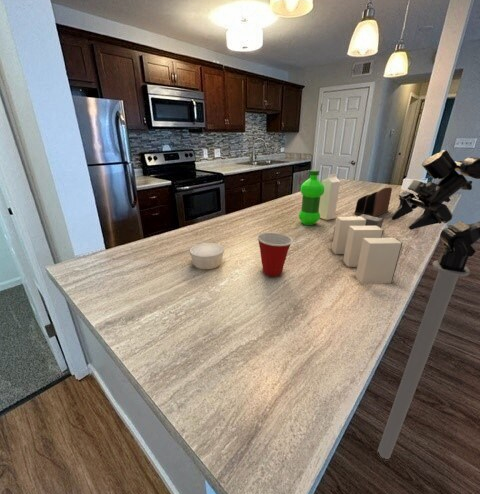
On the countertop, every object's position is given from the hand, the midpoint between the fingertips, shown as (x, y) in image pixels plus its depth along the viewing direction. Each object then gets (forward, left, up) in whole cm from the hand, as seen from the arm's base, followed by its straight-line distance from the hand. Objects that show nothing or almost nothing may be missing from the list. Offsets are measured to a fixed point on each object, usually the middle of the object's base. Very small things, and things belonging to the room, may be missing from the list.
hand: (400, 223), depth 85 cm
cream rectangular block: (+10, +7, -14) cm, 18 cm away
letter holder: (+4, -61, -14) cm, 62 cm away
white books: (+11, +7, -14) cm, 19 cm away
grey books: (+11, -21, -14) cm, 27 cm away
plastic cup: (+36, +23, -14) cm, 45 cm away
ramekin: (+58, +26, -14) cm, 65 cm away
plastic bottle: (+33, -29, -14) cm, 46 cm away
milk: (+26, -42, -14) cm, 51 cm away
